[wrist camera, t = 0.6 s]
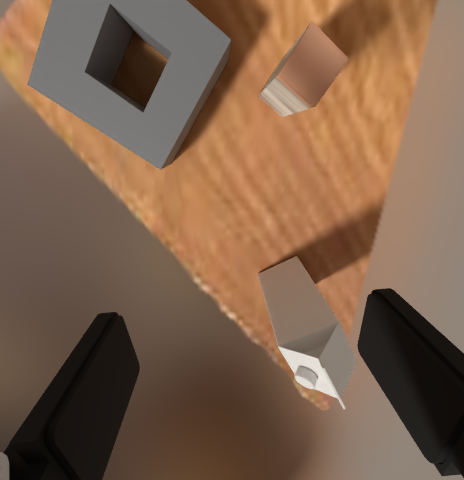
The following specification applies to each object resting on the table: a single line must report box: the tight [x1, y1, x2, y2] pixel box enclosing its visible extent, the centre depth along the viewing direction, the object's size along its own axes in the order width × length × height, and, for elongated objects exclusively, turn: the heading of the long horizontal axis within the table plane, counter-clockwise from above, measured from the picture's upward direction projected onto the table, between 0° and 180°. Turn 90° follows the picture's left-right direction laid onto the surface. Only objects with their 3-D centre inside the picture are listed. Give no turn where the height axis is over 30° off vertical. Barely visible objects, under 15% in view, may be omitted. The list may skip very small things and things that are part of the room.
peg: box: [258, 22, 349, 117], centre depth 24 cm, size 4×4×11 cm
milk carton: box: [258, 256, 357, 409], centre depth 31 cm, size 7×7×19 cm
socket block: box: [27, 0, 231, 170], centre depth 25 cm, size 14×14×6 cm
